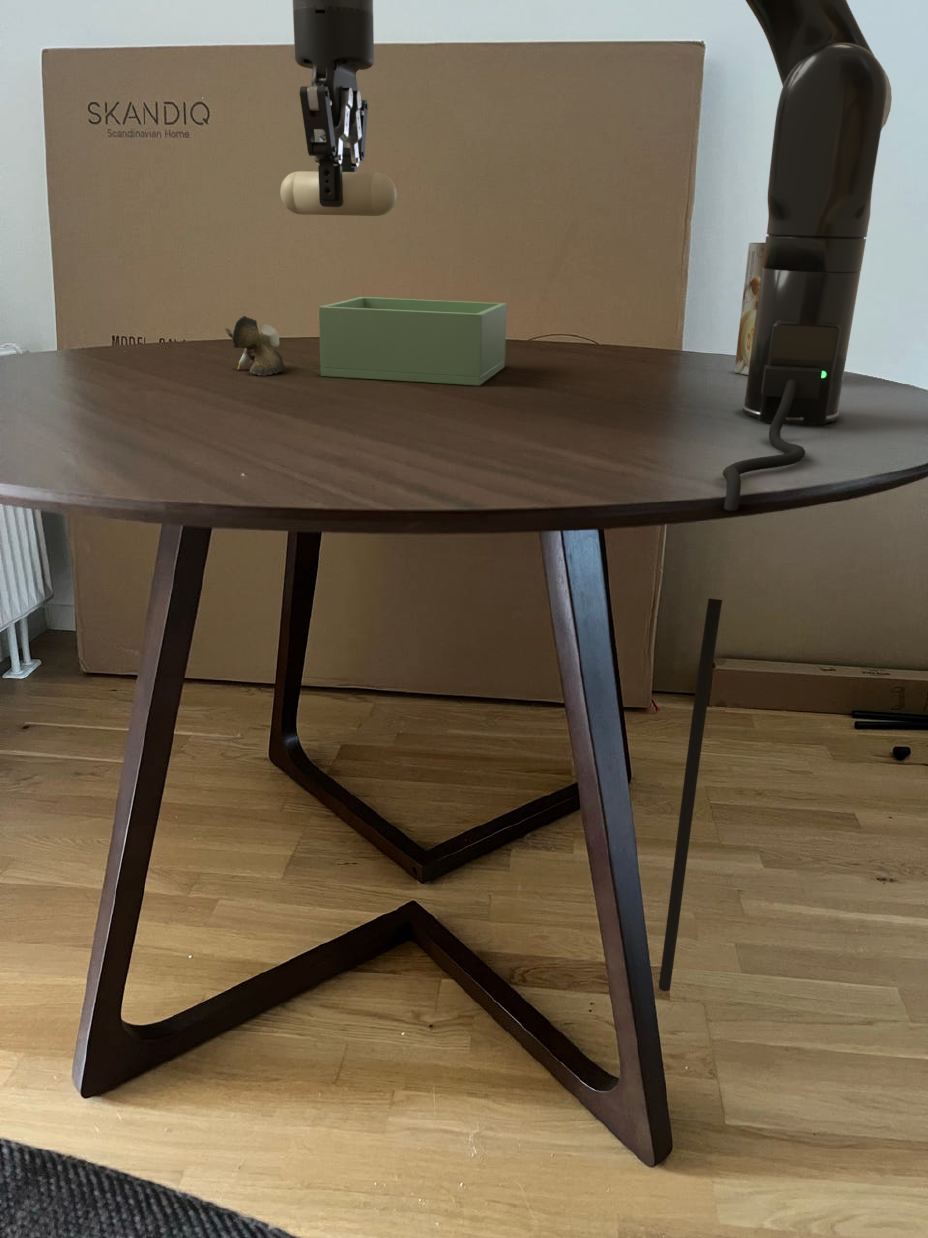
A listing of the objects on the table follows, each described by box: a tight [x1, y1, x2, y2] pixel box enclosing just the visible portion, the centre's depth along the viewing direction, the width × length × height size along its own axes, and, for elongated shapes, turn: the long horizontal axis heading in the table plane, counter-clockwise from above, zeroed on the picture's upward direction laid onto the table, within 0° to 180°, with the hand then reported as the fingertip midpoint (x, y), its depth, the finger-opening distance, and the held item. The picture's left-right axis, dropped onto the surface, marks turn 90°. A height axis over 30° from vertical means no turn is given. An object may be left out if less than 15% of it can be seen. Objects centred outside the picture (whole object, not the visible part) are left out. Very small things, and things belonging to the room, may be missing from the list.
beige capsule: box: [279, 170, 398, 217], centre depth 99 cm, size 4×12×4 cm, turn 78°
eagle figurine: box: [224, 315, 285, 377], centre depth 122 cm, size 8×7×9 cm
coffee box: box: [733, 242, 765, 376], centre depth 124 cm, size 9×6×16 cm
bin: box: [318, 296, 508, 387], centre depth 123 cm, size 16×20×8 cm
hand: (338, 205), depth 100 cm, fingers closed on beige capsule, 4 cm apart
